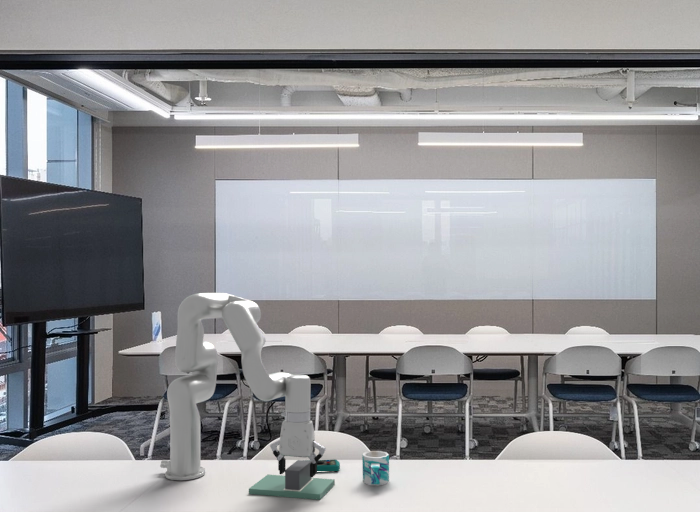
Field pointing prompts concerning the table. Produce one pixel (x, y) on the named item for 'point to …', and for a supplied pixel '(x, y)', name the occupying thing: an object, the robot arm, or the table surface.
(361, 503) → the table surface
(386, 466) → the mug
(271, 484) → the header board
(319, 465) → the digital multimeter
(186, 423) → the robot arm
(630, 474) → the table surface
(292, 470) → the block
